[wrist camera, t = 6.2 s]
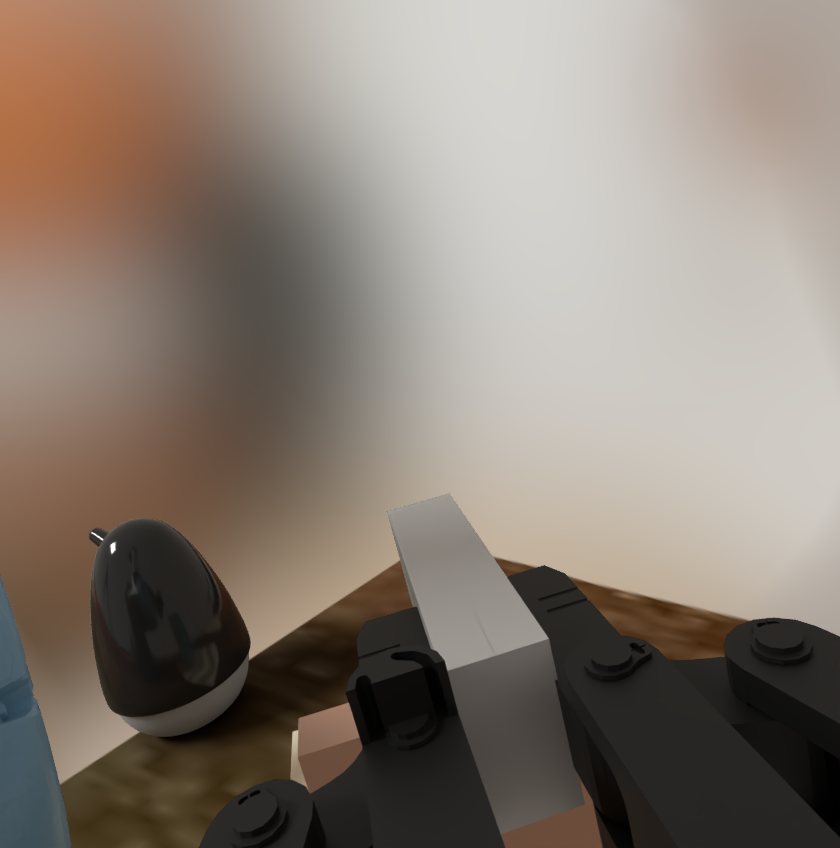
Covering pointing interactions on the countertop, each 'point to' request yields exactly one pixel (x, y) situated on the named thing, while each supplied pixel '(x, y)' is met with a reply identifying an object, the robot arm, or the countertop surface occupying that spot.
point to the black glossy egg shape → (163, 630)
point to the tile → (340, 745)
